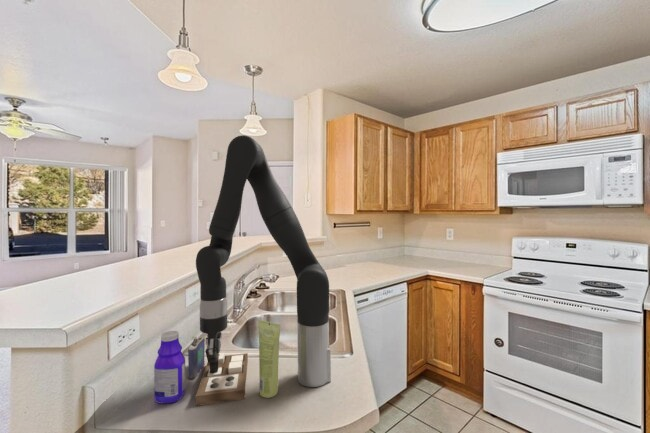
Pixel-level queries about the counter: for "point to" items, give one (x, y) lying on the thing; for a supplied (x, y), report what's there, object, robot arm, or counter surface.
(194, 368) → the flask
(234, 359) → the button back inner
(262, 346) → the tube
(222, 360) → the button back outer
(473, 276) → the counter surface
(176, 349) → the bottle
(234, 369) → the button front inner
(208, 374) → the button front outer
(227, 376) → the panel
